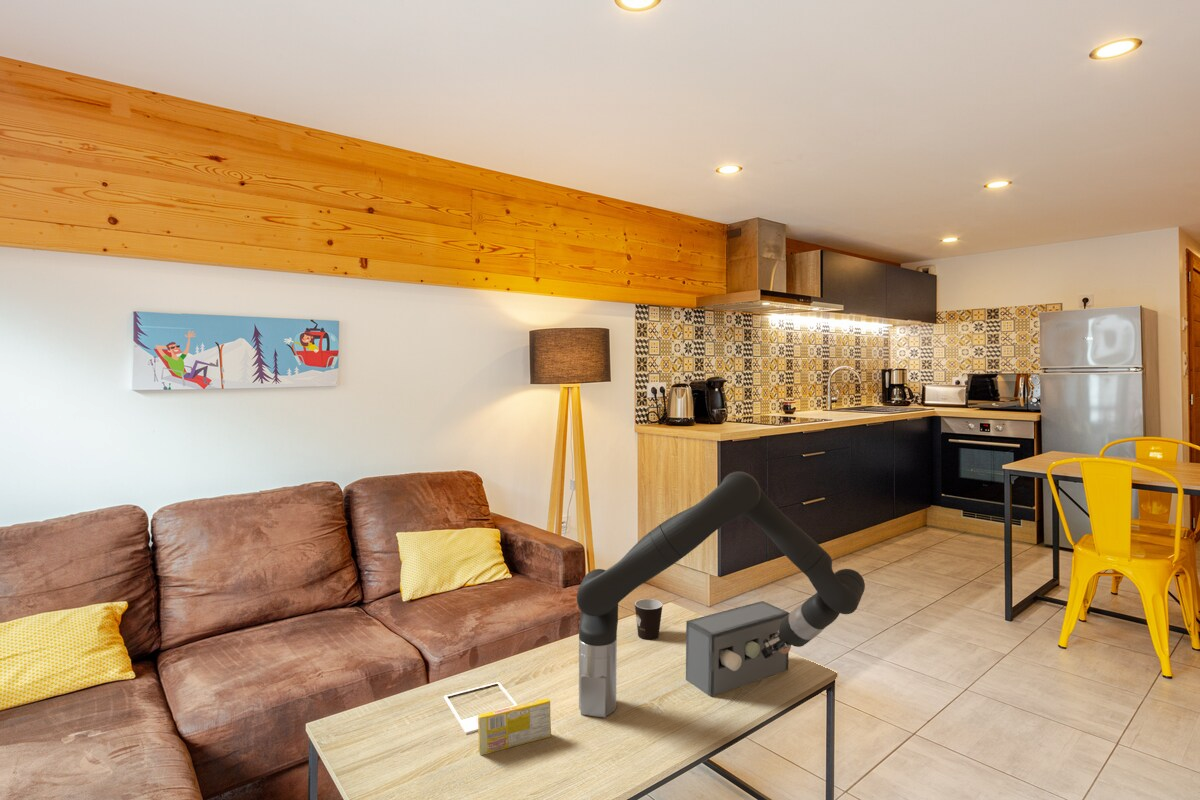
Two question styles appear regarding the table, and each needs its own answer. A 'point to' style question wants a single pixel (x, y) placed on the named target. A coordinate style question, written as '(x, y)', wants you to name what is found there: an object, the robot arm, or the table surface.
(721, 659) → the cream button
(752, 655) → the sage button
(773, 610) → the console
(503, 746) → the candy box
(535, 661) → the table surface
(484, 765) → the table surface
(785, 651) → the terracotta button
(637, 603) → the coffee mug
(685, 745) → the table surface
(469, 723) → the photo frame
